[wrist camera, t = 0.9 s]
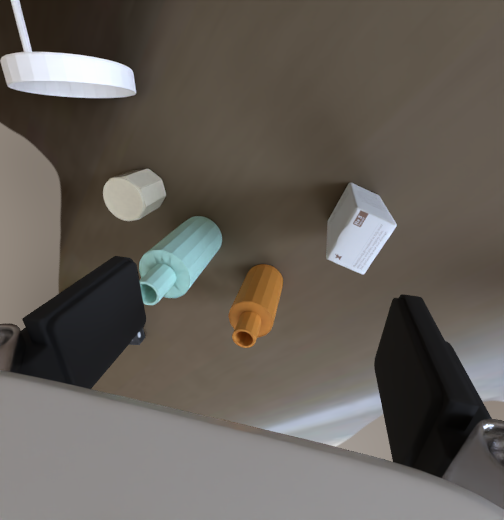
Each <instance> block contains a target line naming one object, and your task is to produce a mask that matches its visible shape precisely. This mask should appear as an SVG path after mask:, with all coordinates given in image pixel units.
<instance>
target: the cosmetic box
mask: <svg viewBox="0 0 504 520" xmlns="http://www.w3.org/2000/svg"><path fill="white" fill-rule="evenodd" d="M396 226H397V224H396V222H395V221H394V219H393V218H392V216H391V214H390V213H389V211H388V209H387V208H386V206H385V204H384V203H383V201H382V199H381V198H380V196H379V195H377V194H375V193H373V192H370V191H368V190H366V189H364V188H362V187H359V186H357V185H355V184H353V183H351V182H350V183H349V184H348V185H347V187H346V189H345V191H344V193H343V194H342V196H341V198H340V200H339V201H338V203H337V205H336V207H335V209H334V210H333V212H332V214H331V216H330V218H329V219H328V222H327V250H326V259H328V260H330V261H332V262H335V263H337V264H339V265H341V266H344V267H346V268H348V269H351V270H353V271H355V272H358V273H360V274H364V273H365V272H366V271H367V269H368V268H369V266H370V265H371V263H372V262H373V260H374V259H375V257H376V256H377V254H378V253H379V251H380V250H381V248H382V247H383V245H384V244H385V242H386V241H387V239H388V238H389V236H390V235H391V234H392V232H393V230H394V229H395V228H396Z"/></svg>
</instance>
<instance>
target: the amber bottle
mask: <svg viewBox="0 0 504 520" xmlns="http://www.w3.org/2000/svg"><path fill="white" fill-rule="evenodd" d="M282 286H283V278H282V276H281V274H280V272H279V271H278V270H277V269H276V268H274V267H272V266H270V265H266V264H260V265H256V266H254V267H252V268H251V269H250V270H249V272H248V273H247V275H246V278H245V280H244V282H243V284H242V286H241V288H240V290H239V292H238V294H237V296H236V299H235V301H234V303H233V305H232V307H231V309H230V312H229V320H230V323H231V325H232V326H233V328H234V329H235V330H234V332H233V335H232V337H233V341H234V342H235V343H236V344H237V345H238V346H241V347H243V348H249V347H252V346H253V345H254V344H255V342H256V339H257V338H258V337H261V336H265V335H266V334H267V333H268V332H270V331H271V328H272V326H273V322H274V318H275V314H276V310H277V306H278V302H279V298H280V294H281V290H282Z"/></svg>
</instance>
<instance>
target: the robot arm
mask: <svg viewBox="0 0 504 520" xmlns="http://www.w3.org/2000/svg"><path fill="white" fill-rule="evenodd" d="M23 322H24V324H25V326H26V328H24V329H23V330H22V331H20V328H19V327H18V326H17V325H13V324H0V520H504V421H502V420H496V419H492V418H491V417H490V415H489V413H488V411H487V409H486V407H485V406H484V404H483V402H482V400H481V398H480V396H479V395H478V393H477V391H476V389H475V387H474V386H473V384H472V382H471V380H470V378H469V376H468V375H467V373H466V371H465V369H464V367H463V366H462V364H461V362H460V360H459V358H458V356H457V355H456V353H455V351H454V349H453V347H452V346H451V345H450V343H448V342H445V340H444V338H443V337H442V335H441V333H440V331H439V329H438V327H437V325H436V323H435V322H434V320H433V318H432V316H431V314H430V312H429V310H428V308H427V306H426V305H425V303H424V301H423V299H422V298H421V297H418V296H410V295H403V294H402V295H400V297H399V298H394V299H393V300H392V303H391V307H390V310H389V313H388V317H387V320H386V323H385V327H384V330H383V333H382V337H381V340H380V343H379V347H378V350H377V354H376V357H375V364H374V366H375V373H376V378H377V383H378V388H379V393H380V398H381V403H382V408H383V413H384V418H385V423H386V428H387V433H388V438H389V444H390V449H391V454H392V459H393V462H391V461H388V460H385V459H380V458H377V457H373V456H369V455H365V454H361V453H357V452H354V451H349V450H345V449H342V448H338V447H334V446H330V445H326V444H322V443H318V442H314V441H310V440H306V439H302V438H298V437H293V436H289V435H285V434H281V433H277V432H272V431H268V430H264V429H260V428H256V427H251V426H247V425H243V424H239V423H235V422H231V421H226V420H222V419H218V418H214V417H209V416H205V415H201V414H196V413H192V412H188V411H184V410H179V409H175V408H171V407H166V406H162V405H158V404H153V403H149V402H145V401H140V400H136V399H132V398H127V397H123V396H119V395H114V394H110V393H105V392H101V391H97V390H92V389H91V388H92V387H93V386H94V385H95V383H96V382H97V381H98V380H99V379H100V377H101V376H102V375H103V374H104V373H105V372H106V370H107V369H108V368H109V367H110V366H111V365H112V363H113V362H114V361H115V360H116V359H117V357H118V356H119V355H120V354H121V353H122V352H123V350H124V349H125V348H126V347H127V346H128V345H129V343H130V342H131V341H132V340H133V339H134V337H135V336H136V335H137V334H138V333H139V332H140V330H141V329H142V328H143V327H144V325H145V322H146V315H145V310H144V304H143V298H142V293H141V287H140V281H139V276H138V270H137V265H136V263H134V262H133V260H132V259H131V258H127V257H119V256H115V257H113V258H111V259H110V260H108V261H107V262H105V263H104V264H102V265H101V266H99V267H98V268H96V269H95V270H94V271H92V272H91V273H89V274H88V275H86V276H85V277H83V278H82V279H80V280H79V281H77V282H76V283H74V284H73V285H71V286H70V287H68V288H67V289H65V290H64V291H62V292H61V293H60V294H58V295H57V296H55V297H54V298H52V299H51V300H49V301H48V302H46V303H45V304H43V305H42V306H40V307H39V308H37V309H36V310H34V311H33V312H31V313H30V314H28V315H27V316H26V317H24V318H23Z"/></svg>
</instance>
